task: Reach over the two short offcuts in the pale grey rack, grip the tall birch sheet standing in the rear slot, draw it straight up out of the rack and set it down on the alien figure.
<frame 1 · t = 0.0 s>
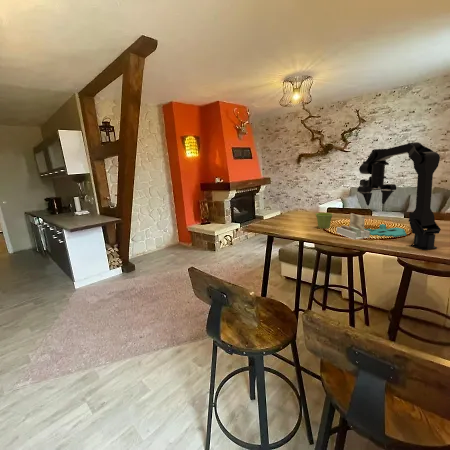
hand: (375, 204, 133), 15 cm above the table, tool pointing down, fingers open, 9 cm apart
board rack: (351, 236, 130), on the table
sage offcut: (354, 235, 128), point 1 cm above the table, touching board rack
walnut offcut: (345, 234, 132), point 1 cm above the table, touching board rack
birch sheet: (356, 234, 131), point 1 cm above the table, touching board rack
plant pot: (323, 228, 149), on the table
alien figure: (383, 234, 133), on the table
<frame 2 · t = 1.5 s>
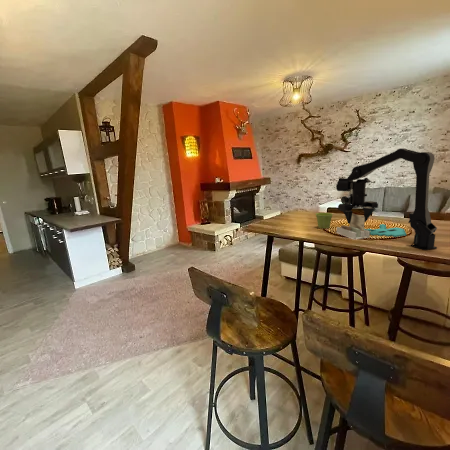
hand: (357, 222, 129), 7 cm above the table, tool pointing down, fingers open, 9 cm apart
nothing on the table moved.
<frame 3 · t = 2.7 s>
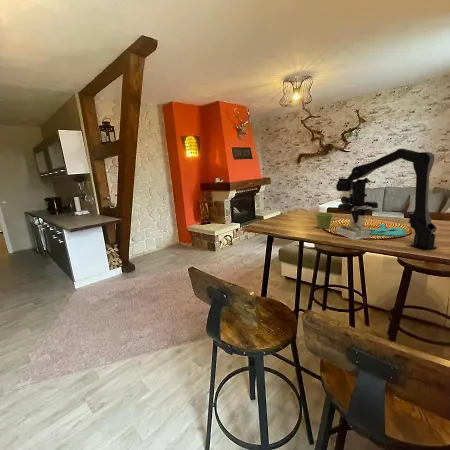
hand: (356, 222, 129), 7 cm above the table, tool pointing down, fingers closed on birch sheet, 1 cm apart
birch sheet: (356, 234, 131), point 1 cm above the table, touching board rack, gripper
everything else where it was.
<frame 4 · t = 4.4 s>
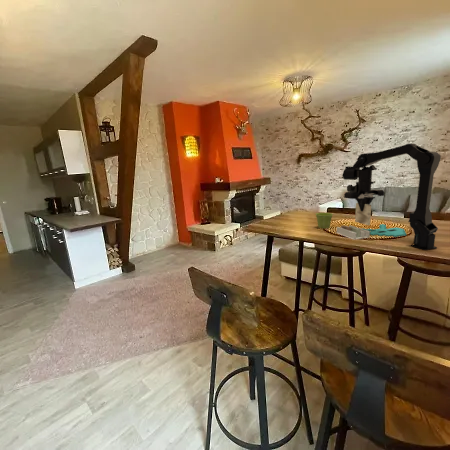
hand: (363, 211, 128), 13 cm above the table, tool pointing down, fingers closed on birch sheet
birch sheet: (362, 223, 130), point 6 cm above the table, touching gripper
everything else where it was.
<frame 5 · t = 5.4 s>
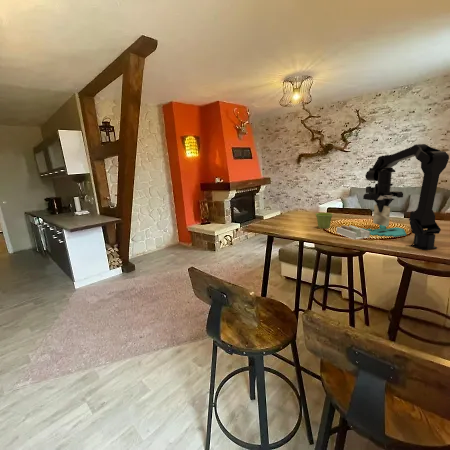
hand: (381, 212, 131), 11 cm above the table, tool pointing down, fingers closed on birch sheet
birch sheet: (380, 224, 132), point 5 cm above the table, touching gripper
everything else where it was.
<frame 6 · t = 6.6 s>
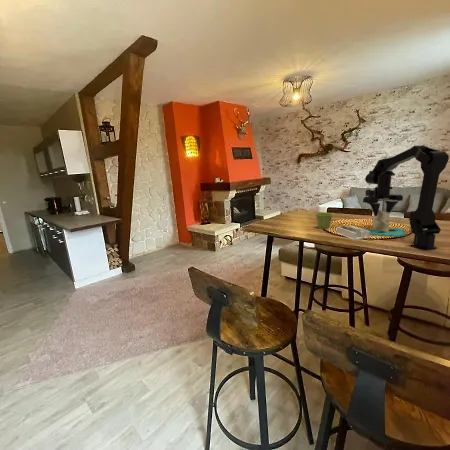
hand: (381, 215, 131), 9 cm above the table, tool pointing down, fingers open, 7 cm apart
birch sheet: (380, 230, 133), point 2 cm above the table, touching alien figure
alien figure: (382, 234, 133), on the table, touching birch sheet
everything else where it was.
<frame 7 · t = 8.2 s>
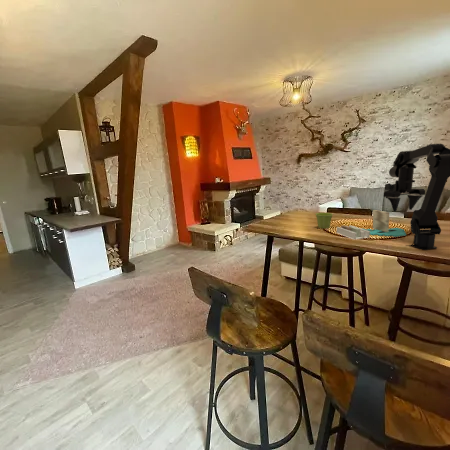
hand: (402, 210, 124), 13 cm above the table, tool pointing down, fingers open, 9 cm apart
nothing on the table moved.
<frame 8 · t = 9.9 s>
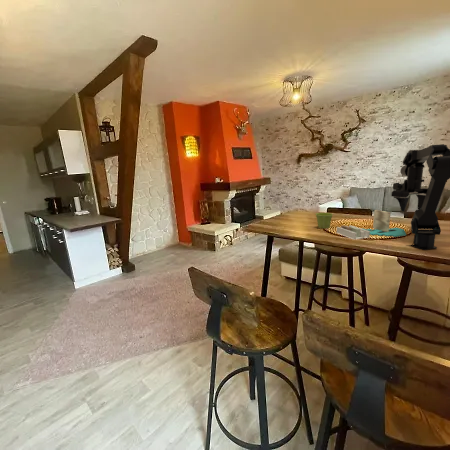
hand: (411, 210, 122), 13 cm above the table, tool pointing down, fingers open, 9 cm apart
nothing on the table moved.
at the end: birch sheet inside the target area (0.7 cm from its centre), point 1.6 cm above the table; birch sheet touching alien figure; the gripper is holding nothing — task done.
